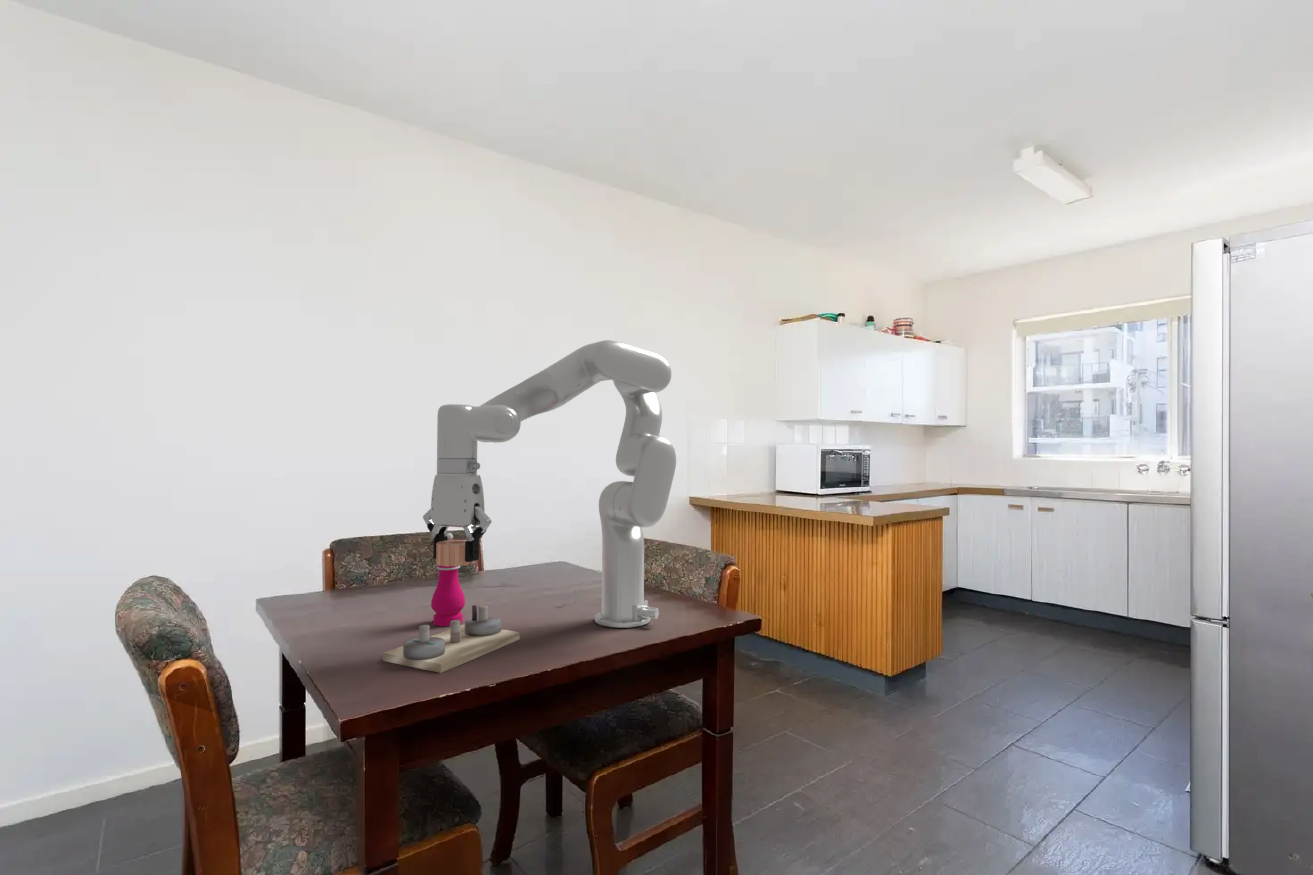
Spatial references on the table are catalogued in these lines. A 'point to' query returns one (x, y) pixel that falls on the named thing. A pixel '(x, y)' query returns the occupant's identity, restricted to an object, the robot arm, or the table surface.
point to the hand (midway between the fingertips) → (455, 558)
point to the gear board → (453, 643)
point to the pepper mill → (447, 595)
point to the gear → (451, 553)
